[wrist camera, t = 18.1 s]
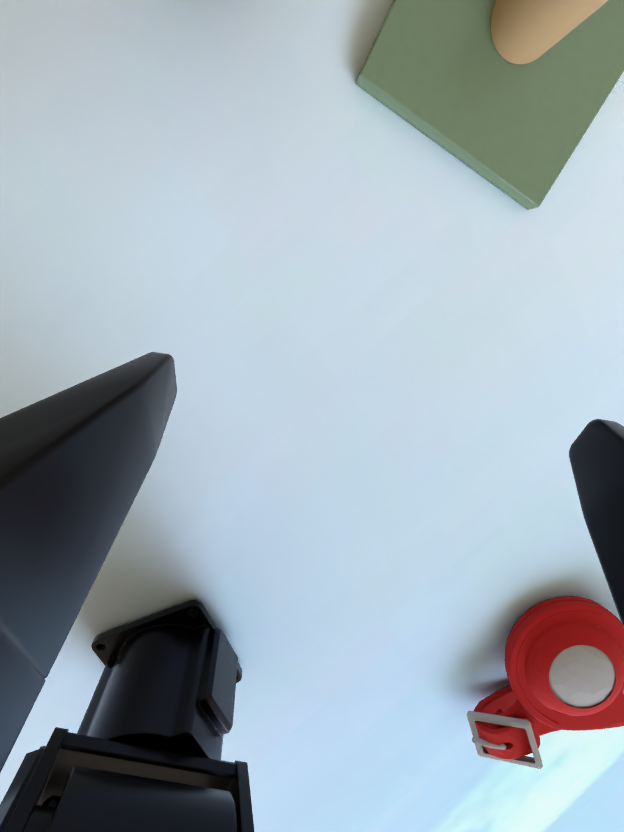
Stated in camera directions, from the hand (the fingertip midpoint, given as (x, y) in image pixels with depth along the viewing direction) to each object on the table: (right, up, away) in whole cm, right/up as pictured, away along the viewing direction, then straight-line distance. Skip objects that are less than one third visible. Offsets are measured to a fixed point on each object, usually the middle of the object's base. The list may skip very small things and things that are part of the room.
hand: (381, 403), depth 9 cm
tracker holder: (+14, -17, +19) cm, 28 cm away
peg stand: (+6, +15, +7) cm, 17 cm away
